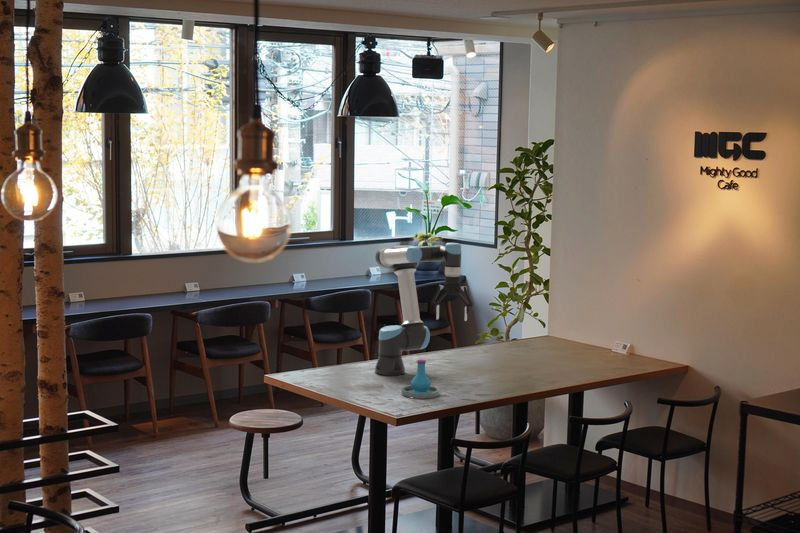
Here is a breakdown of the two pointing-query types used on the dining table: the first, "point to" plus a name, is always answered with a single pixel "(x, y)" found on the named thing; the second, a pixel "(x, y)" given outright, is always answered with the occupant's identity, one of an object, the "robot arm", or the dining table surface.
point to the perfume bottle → (420, 379)
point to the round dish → (431, 393)
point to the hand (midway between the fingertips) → (451, 319)
